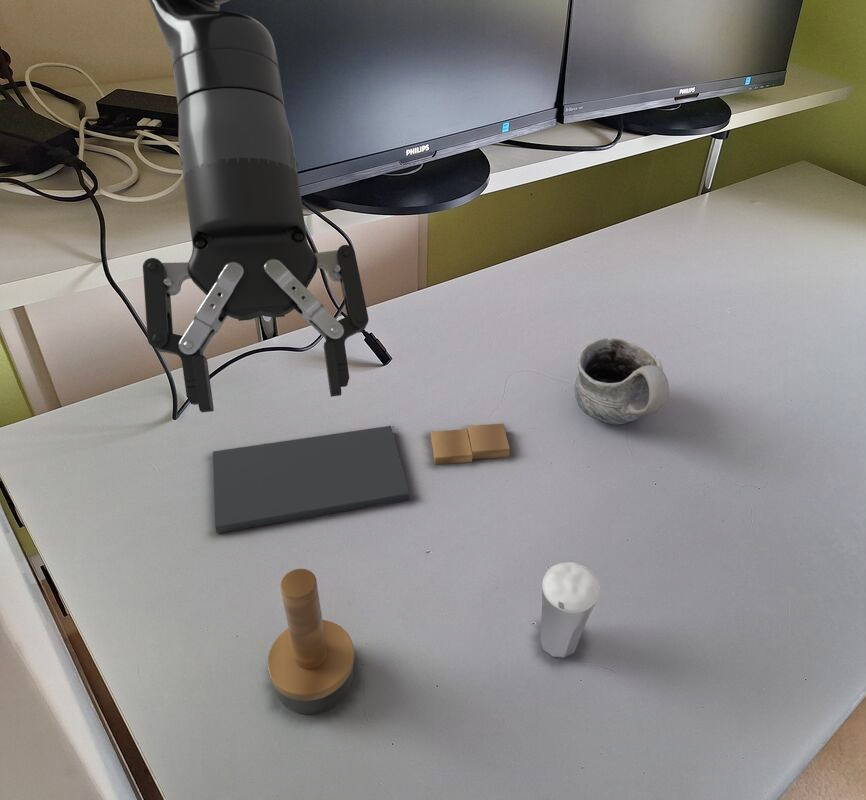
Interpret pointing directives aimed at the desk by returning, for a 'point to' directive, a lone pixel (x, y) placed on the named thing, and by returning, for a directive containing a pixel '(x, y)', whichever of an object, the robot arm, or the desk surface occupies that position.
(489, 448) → the chip
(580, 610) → the milkshake
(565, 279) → the desk surface
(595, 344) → the mug
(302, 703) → the brush
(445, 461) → the chip
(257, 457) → the tile
